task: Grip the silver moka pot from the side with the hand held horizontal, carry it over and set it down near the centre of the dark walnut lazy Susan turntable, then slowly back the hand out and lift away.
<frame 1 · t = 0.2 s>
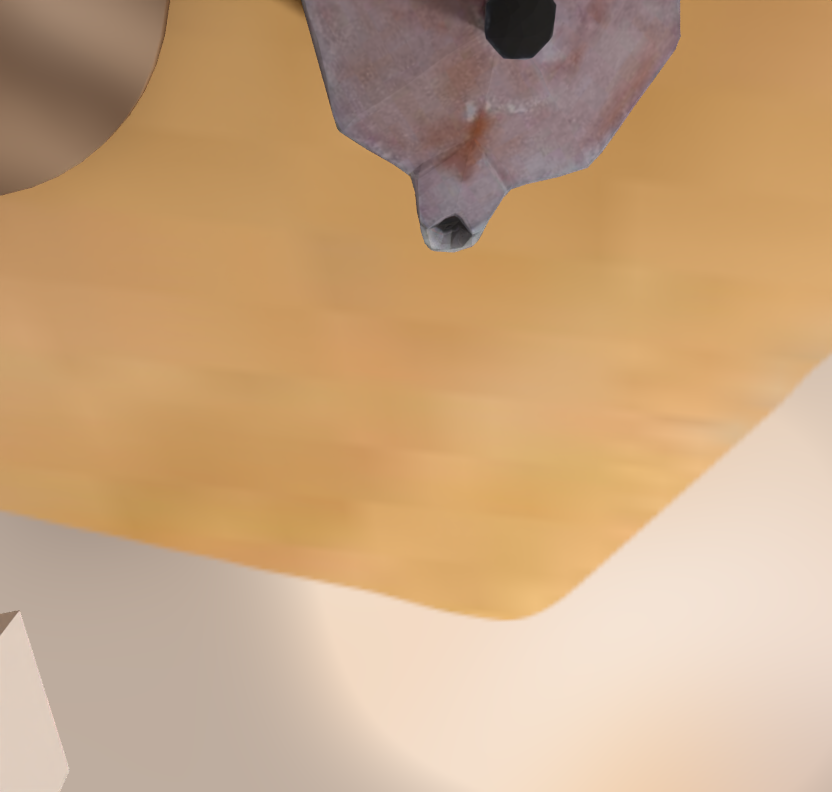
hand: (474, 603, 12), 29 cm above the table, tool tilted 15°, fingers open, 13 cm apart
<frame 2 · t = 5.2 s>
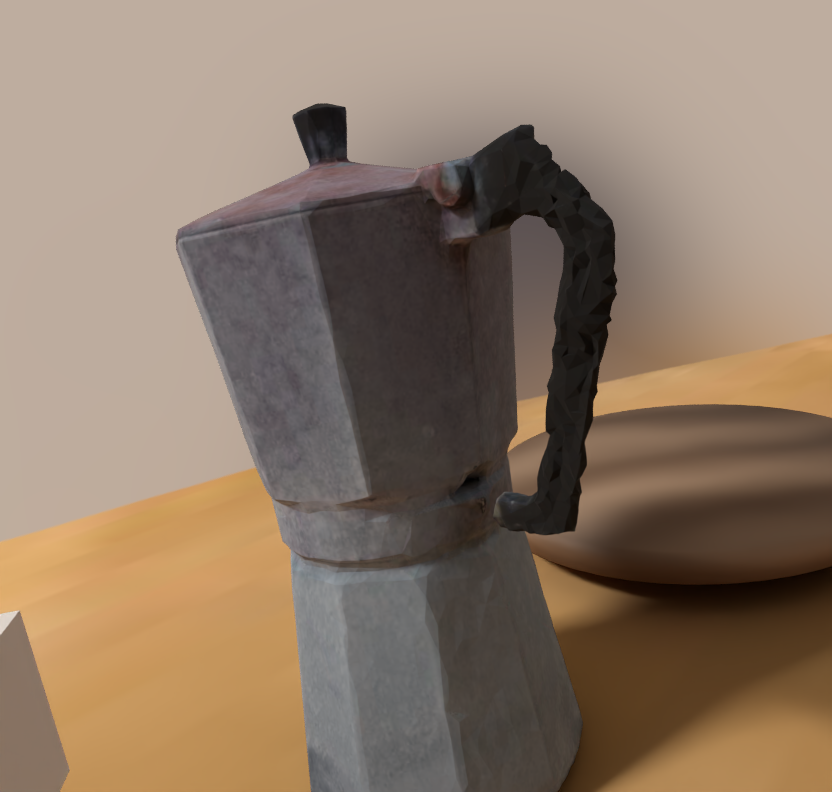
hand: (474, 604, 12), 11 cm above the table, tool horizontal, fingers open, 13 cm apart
moka pot: (457, 749, 25), on the table
turntable: (682, 474, 38), point 2 cm above the table, hinge at 0.0°
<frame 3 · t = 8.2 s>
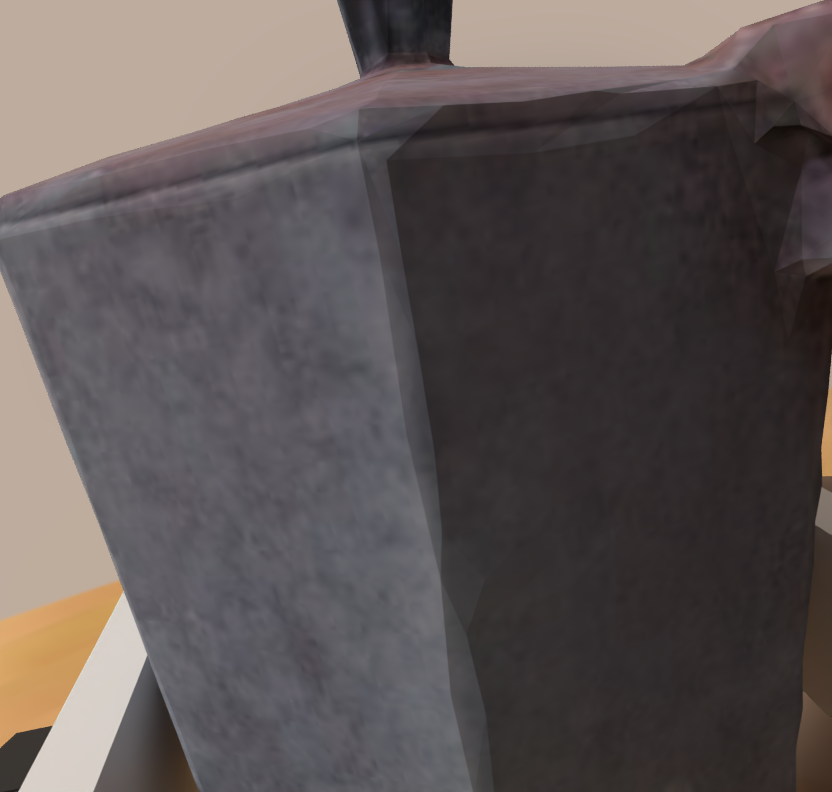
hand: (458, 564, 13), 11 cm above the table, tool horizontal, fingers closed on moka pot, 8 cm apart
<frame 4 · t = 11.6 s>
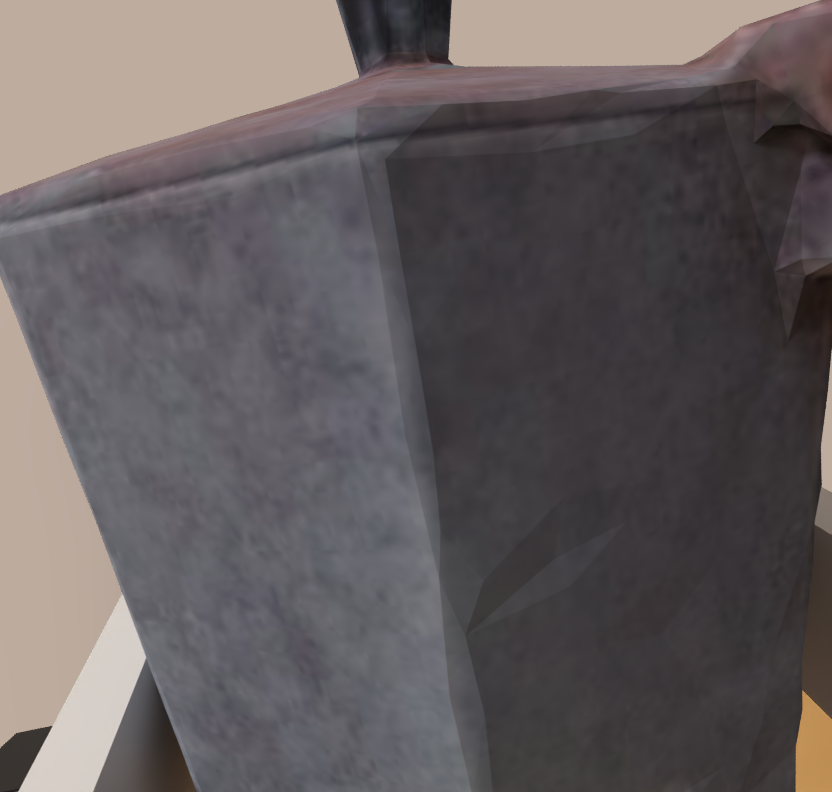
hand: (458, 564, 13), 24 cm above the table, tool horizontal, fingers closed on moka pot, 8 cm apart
when the fingers open (14 cm above the table, at t = 15.3 s): moka pot moves 1 cm, resting on turntable.
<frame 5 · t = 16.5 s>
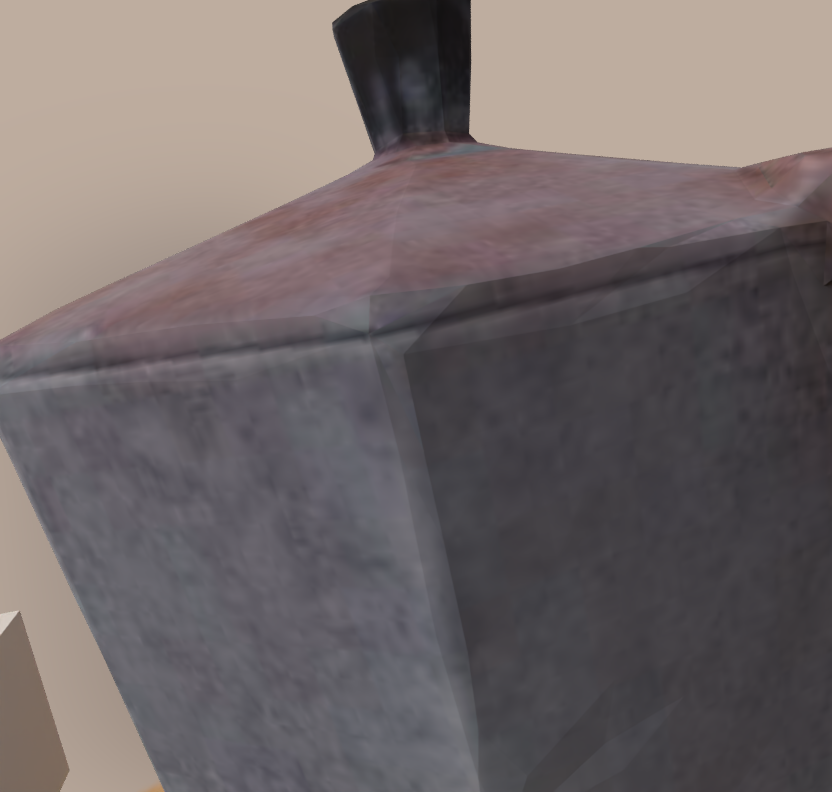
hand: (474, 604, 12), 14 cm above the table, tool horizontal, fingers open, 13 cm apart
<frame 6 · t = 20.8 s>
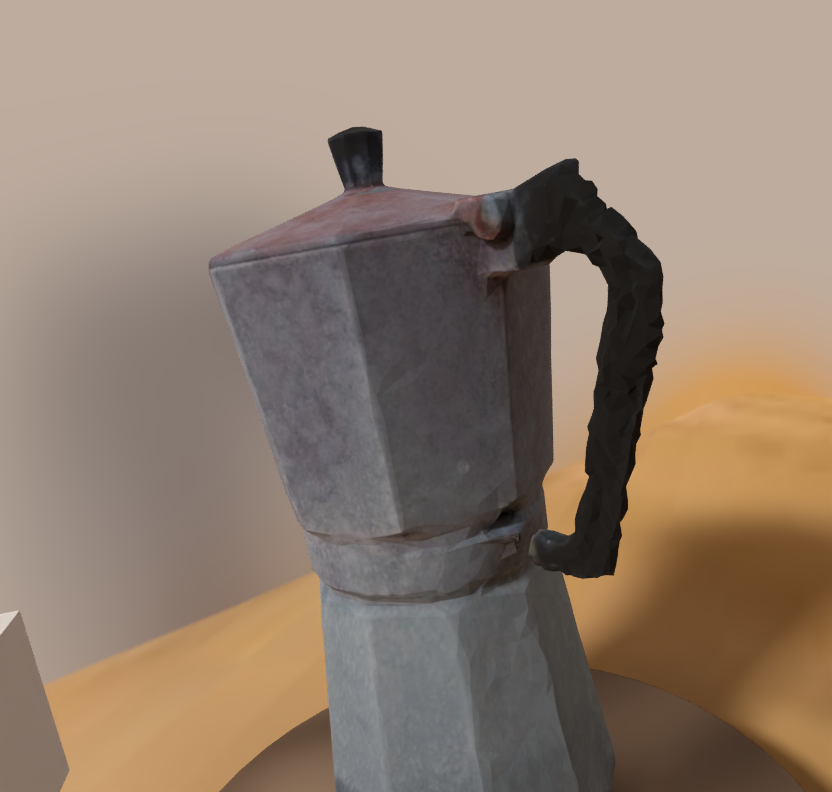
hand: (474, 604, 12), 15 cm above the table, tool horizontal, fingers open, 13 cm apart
moka pot: (486, 781, 24), point 2 cm above the table, touching turntable
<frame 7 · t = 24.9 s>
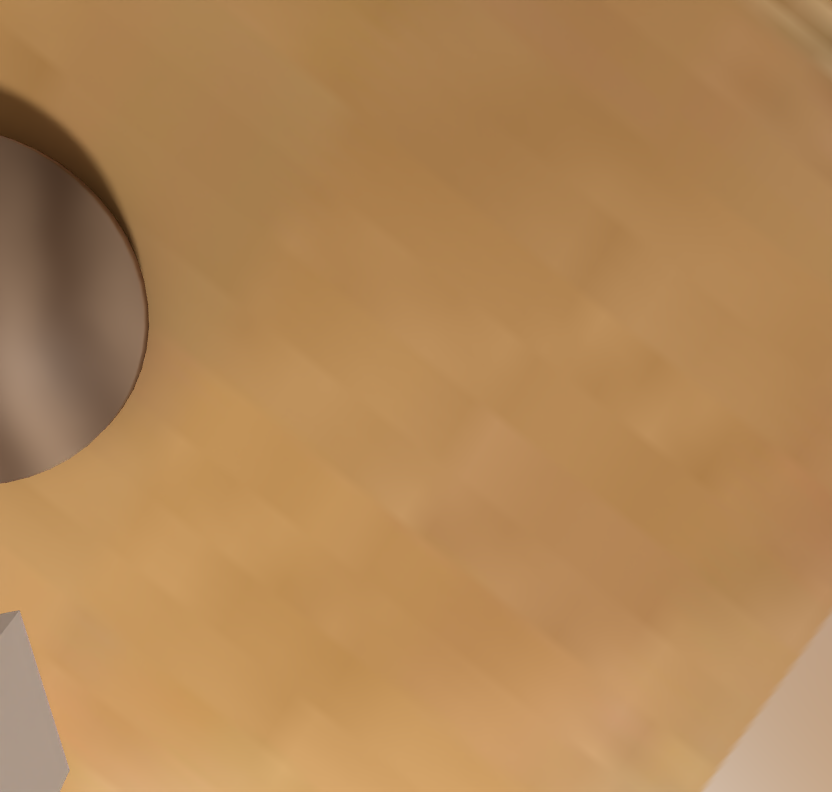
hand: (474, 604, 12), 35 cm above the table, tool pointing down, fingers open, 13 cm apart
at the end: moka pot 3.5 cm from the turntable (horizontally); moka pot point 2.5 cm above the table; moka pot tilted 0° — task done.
